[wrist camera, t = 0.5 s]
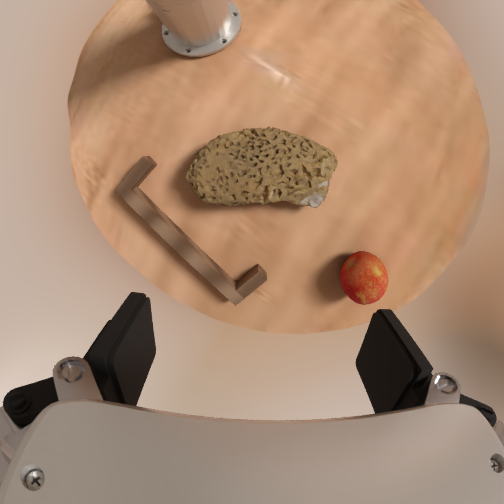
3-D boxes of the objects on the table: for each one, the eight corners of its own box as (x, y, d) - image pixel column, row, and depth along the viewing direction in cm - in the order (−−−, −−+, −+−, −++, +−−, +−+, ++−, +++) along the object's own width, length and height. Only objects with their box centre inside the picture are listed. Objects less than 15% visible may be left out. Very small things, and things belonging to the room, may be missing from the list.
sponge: (327, 142, 41) (202, 106, 35) (349, 156, 34) (201, 111, 29) (298, 213, 47) (182, 188, 42) (314, 237, 41) (178, 210, 35)
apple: (346, 296, 49) (361, 320, 42) (326, 261, 47) (339, 283, 39) (382, 272, 48) (401, 293, 40) (364, 236, 45) (384, 253, 38)
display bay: (122, 187, 42) (114, 190, 39) (149, 155, 40) (142, 156, 37) (236, 296, 49) (235, 305, 46) (266, 271, 47) (267, 279, 44)
